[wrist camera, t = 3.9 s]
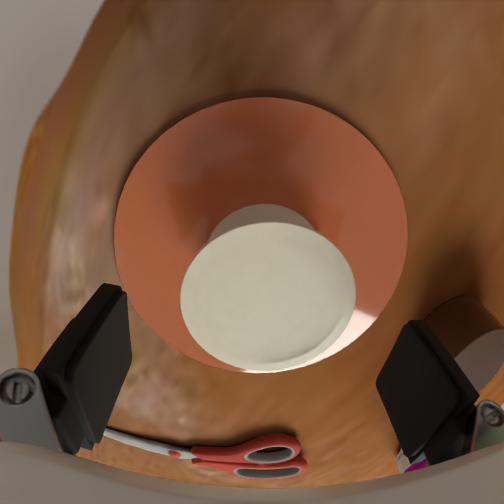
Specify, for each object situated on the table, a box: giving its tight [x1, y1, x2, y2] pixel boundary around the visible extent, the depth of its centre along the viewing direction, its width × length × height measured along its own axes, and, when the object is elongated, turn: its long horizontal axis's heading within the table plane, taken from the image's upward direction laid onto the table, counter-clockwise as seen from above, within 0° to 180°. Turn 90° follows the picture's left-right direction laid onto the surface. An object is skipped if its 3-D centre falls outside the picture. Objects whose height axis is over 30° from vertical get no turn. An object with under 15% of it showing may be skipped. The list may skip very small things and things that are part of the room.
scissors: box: [103, 428, 307, 479], centre depth 21 cm, size 8×21×2 cm, turn 93°
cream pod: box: [180, 204, 356, 371], centre depth 12 cm, size 6×6×4 cm
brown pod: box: [424, 296, 504, 392], centre depth 15 cm, size 7×7×4 cm
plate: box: [114, 97, 408, 373], centre depth 14 cm, size 15×15×1 cm
